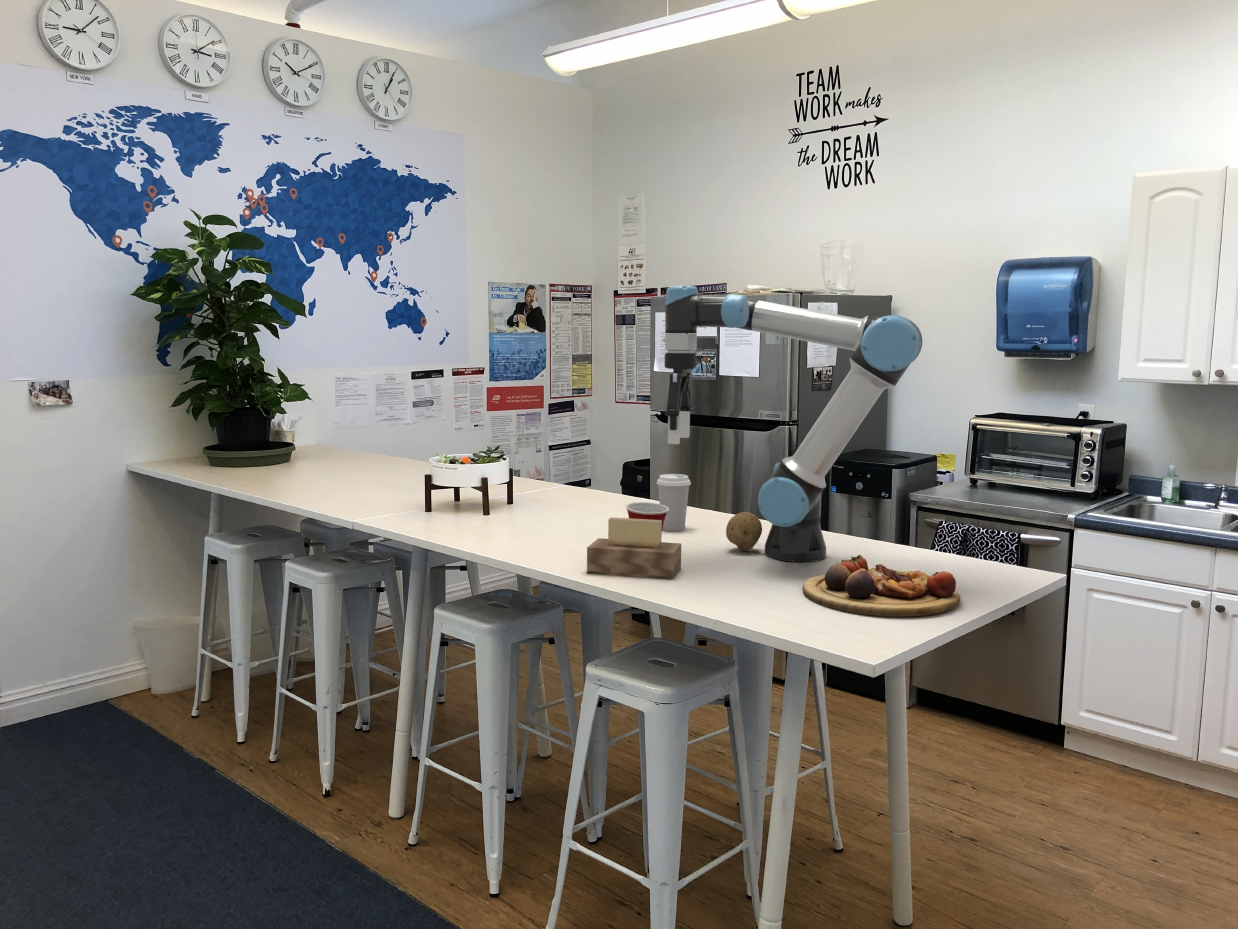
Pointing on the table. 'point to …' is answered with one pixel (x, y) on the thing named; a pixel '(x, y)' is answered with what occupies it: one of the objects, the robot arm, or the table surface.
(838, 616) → the table surface
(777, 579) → the table surface
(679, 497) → the coffee cup
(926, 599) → the wooden plate with food
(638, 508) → the plastic cup
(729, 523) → the natural sponge
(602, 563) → the slotted block
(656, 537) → the light wooden block
